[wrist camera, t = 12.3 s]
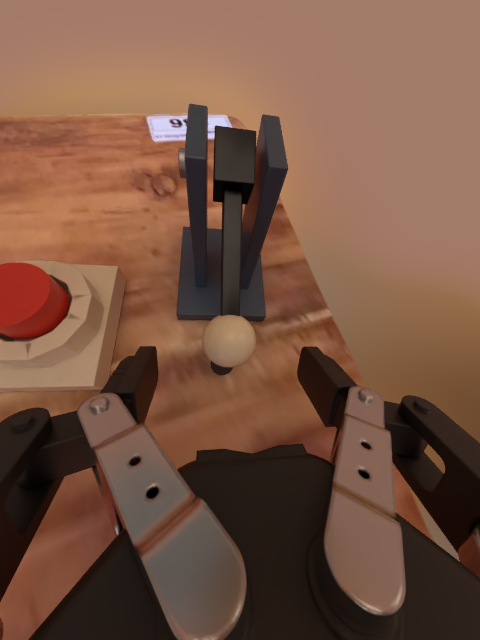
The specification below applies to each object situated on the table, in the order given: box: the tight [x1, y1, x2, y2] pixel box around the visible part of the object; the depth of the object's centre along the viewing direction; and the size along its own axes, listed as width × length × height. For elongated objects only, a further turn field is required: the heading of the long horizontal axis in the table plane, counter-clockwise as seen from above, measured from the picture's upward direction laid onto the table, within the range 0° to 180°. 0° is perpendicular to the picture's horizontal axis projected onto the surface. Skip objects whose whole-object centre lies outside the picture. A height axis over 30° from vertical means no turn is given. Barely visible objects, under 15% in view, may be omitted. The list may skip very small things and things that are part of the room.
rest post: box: [211, 361, 233, 375], centre depth 17 cm, size 2×2×5 cm
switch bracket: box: [177, 104, 288, 321], centre depth 17 cm, size 10×8×13 cm
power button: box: [0, 262, 69, 339], centre depth 14 cm, size 4×4×2 cm
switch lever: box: [202, 126, 256, 367], centre depth 13 cm, size 13×3×3 cm, turn 2°
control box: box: [0, 260, 126, 392], centre depth 17 cm, size 10×8×4 cm
